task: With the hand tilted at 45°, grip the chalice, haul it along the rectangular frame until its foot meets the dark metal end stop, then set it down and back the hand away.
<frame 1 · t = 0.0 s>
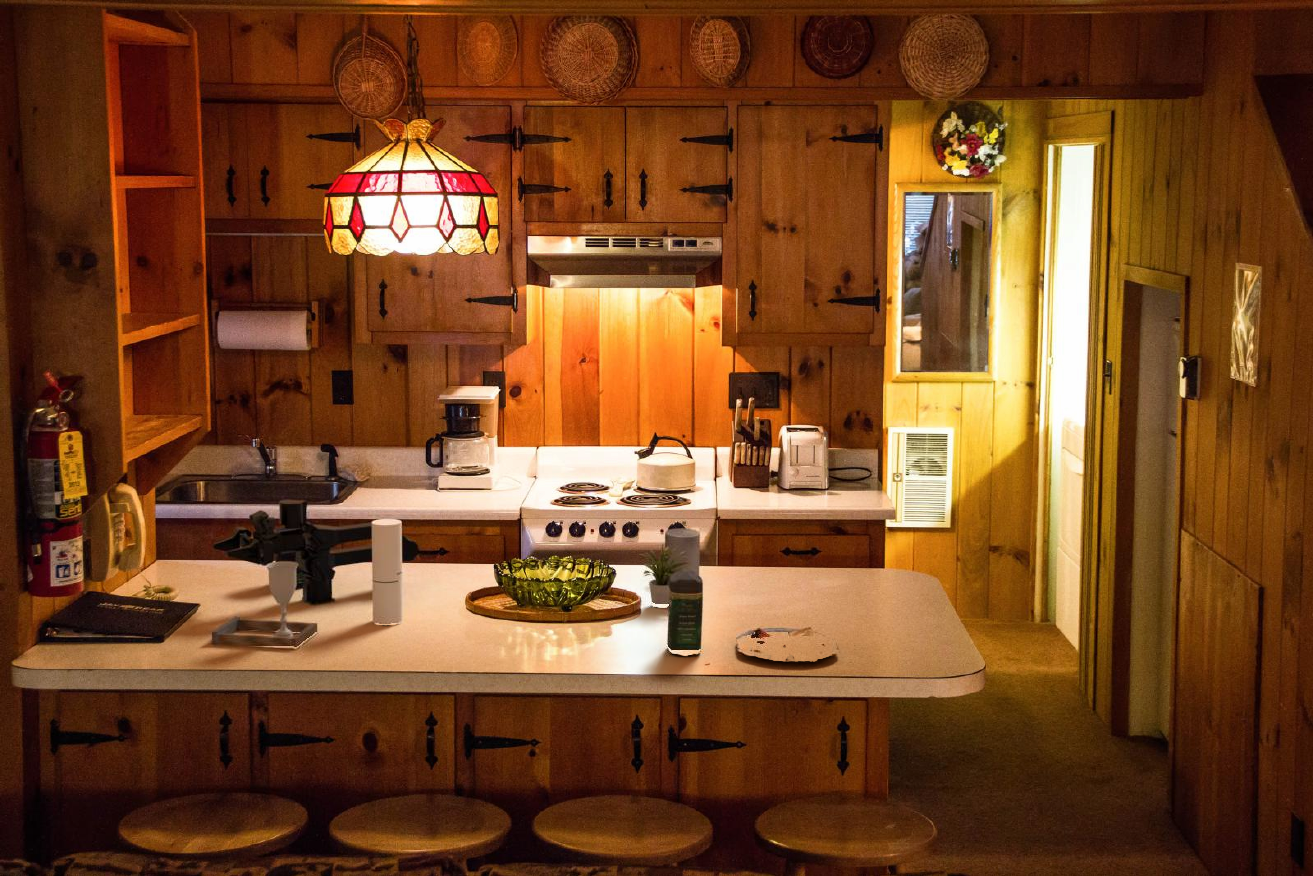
hand: (220, 550, 357), 17 cm above the countertop, tool horizontal, fingers open, 9 cm apart
cylindrical container: (387, 622, 357), on the countertop
food plate: (786, 653, 340), on the countertop
storage jar: (293, 585, 390), on the countertop
pillar candle: (681, 581, 402), on the countertop
house plant: (660, 607, 375), on the countertop
chalice: (284, 640, 341), resting in rectangular frame
rectangular frame: (265, 638, 342), on the countertop
coffee jar: (684, 652, 338), on the countertop
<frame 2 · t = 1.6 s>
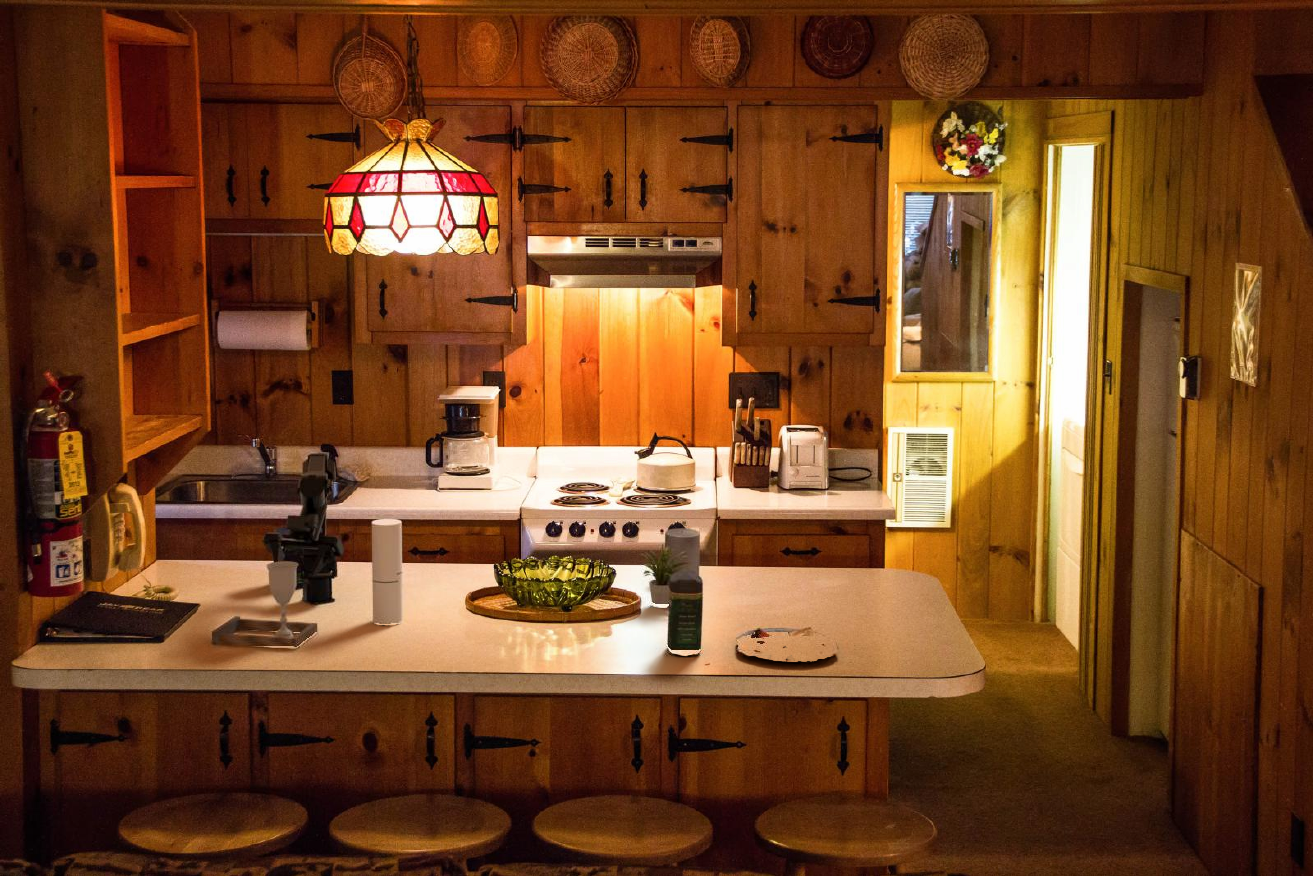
hand: (294, 574, 346), 14 cm above the countertop, tool tilted 45°, fingers open, 9 cm apart
nothing on the countertop moved.
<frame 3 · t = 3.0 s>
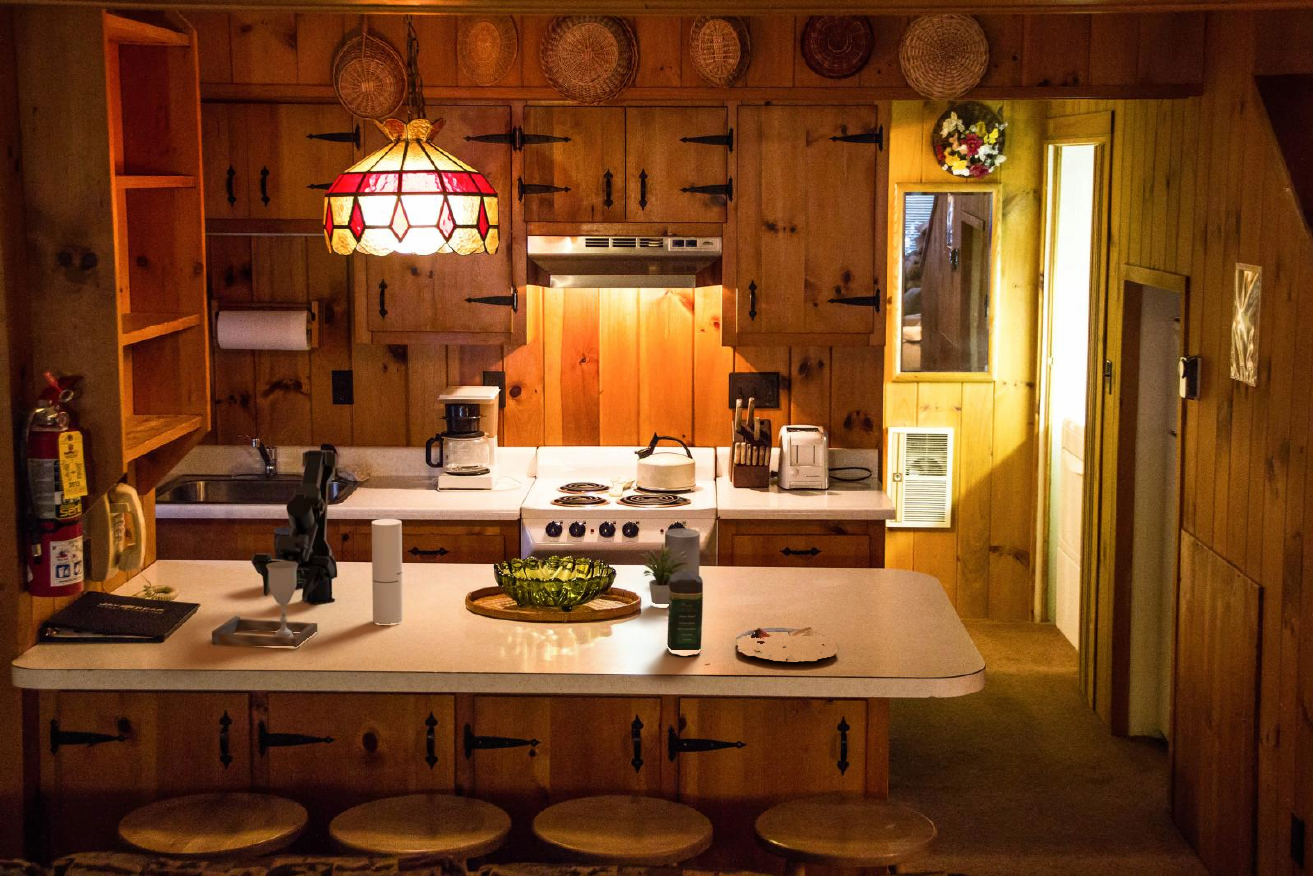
hand: (284, 596, 340), 10 cm above the countertop, tool tilted 45°, fingers open, 9 cm apart
nothing on the countertop moved.
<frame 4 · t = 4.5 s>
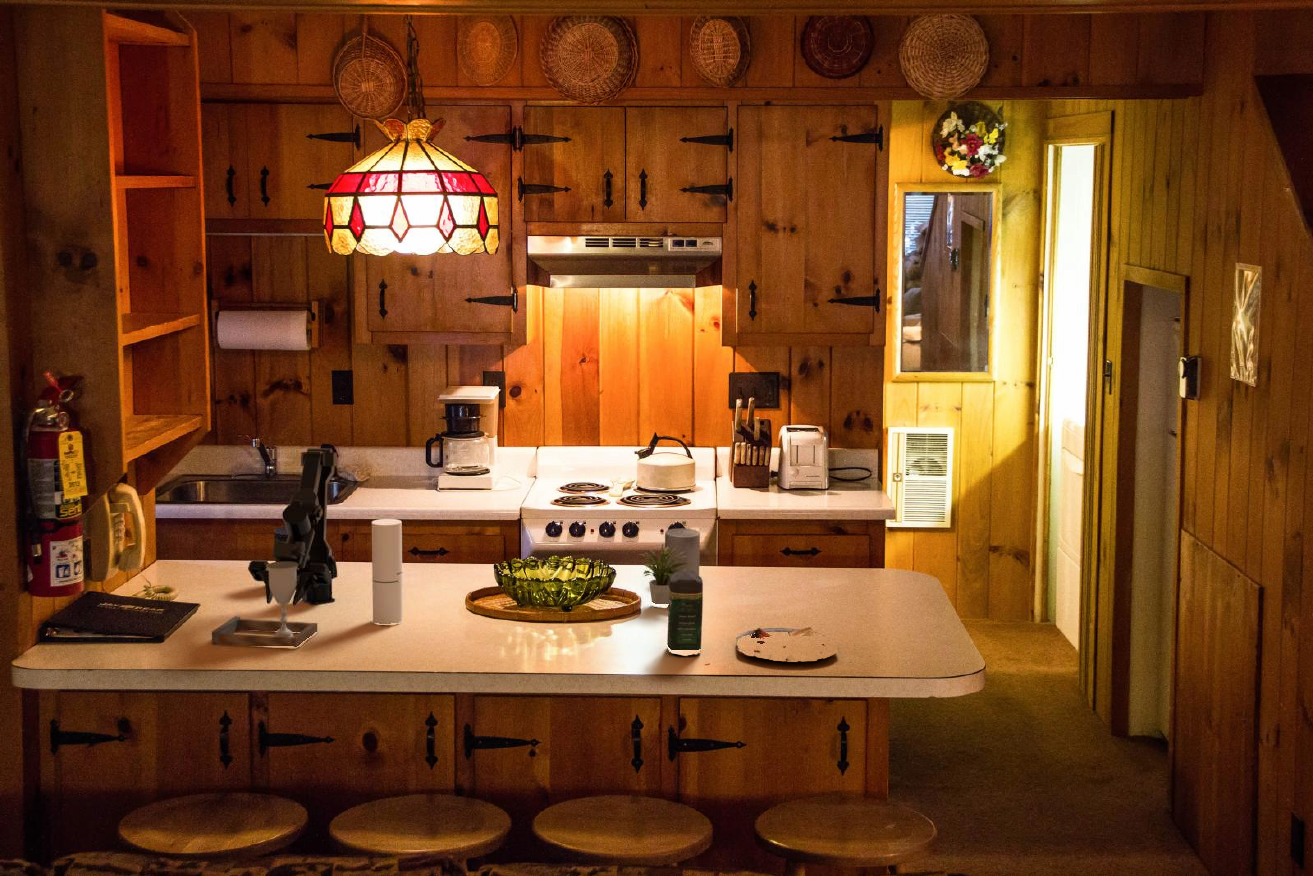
hand: (280, 603, 338), 9 cm above the countertop, tool tilted 45°, fingers closed on chalice, 6 cm apart
chalice: (283, 640, 341), resting in rectangular frame, touching gripper
everything else where it was.
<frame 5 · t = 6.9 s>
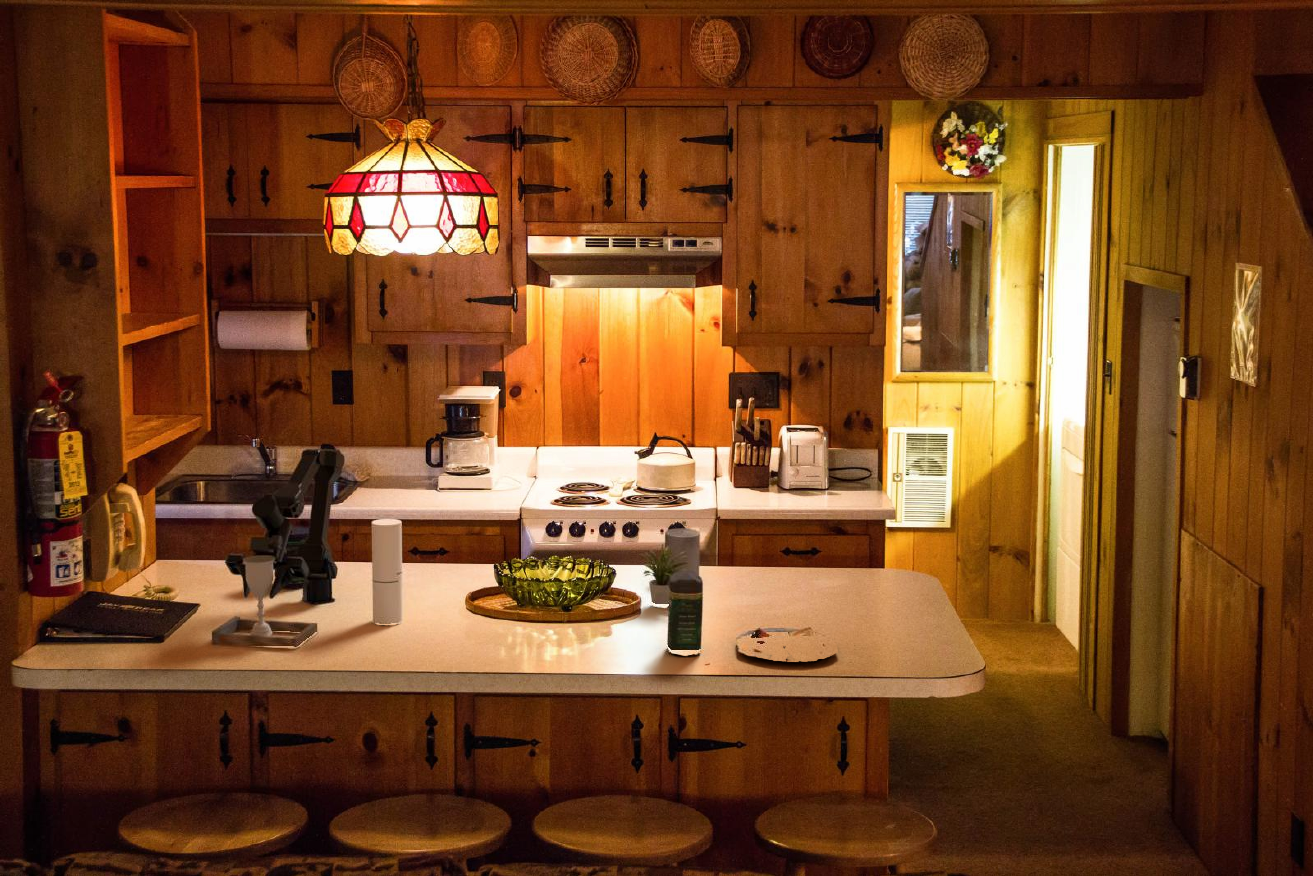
hand: (257, 597, 339), 10 cm above the countertop, tool tilted 45°, fingers closed on chalice, 6 cm apart
chalice: (261, 634, 342), point 1 cm above the countertop, touching gripper
everything else where it was.
when the fingers open (10 cm above the countertop, at t = 9.5 s): chalice stays where it is, resting in rectangular frame.
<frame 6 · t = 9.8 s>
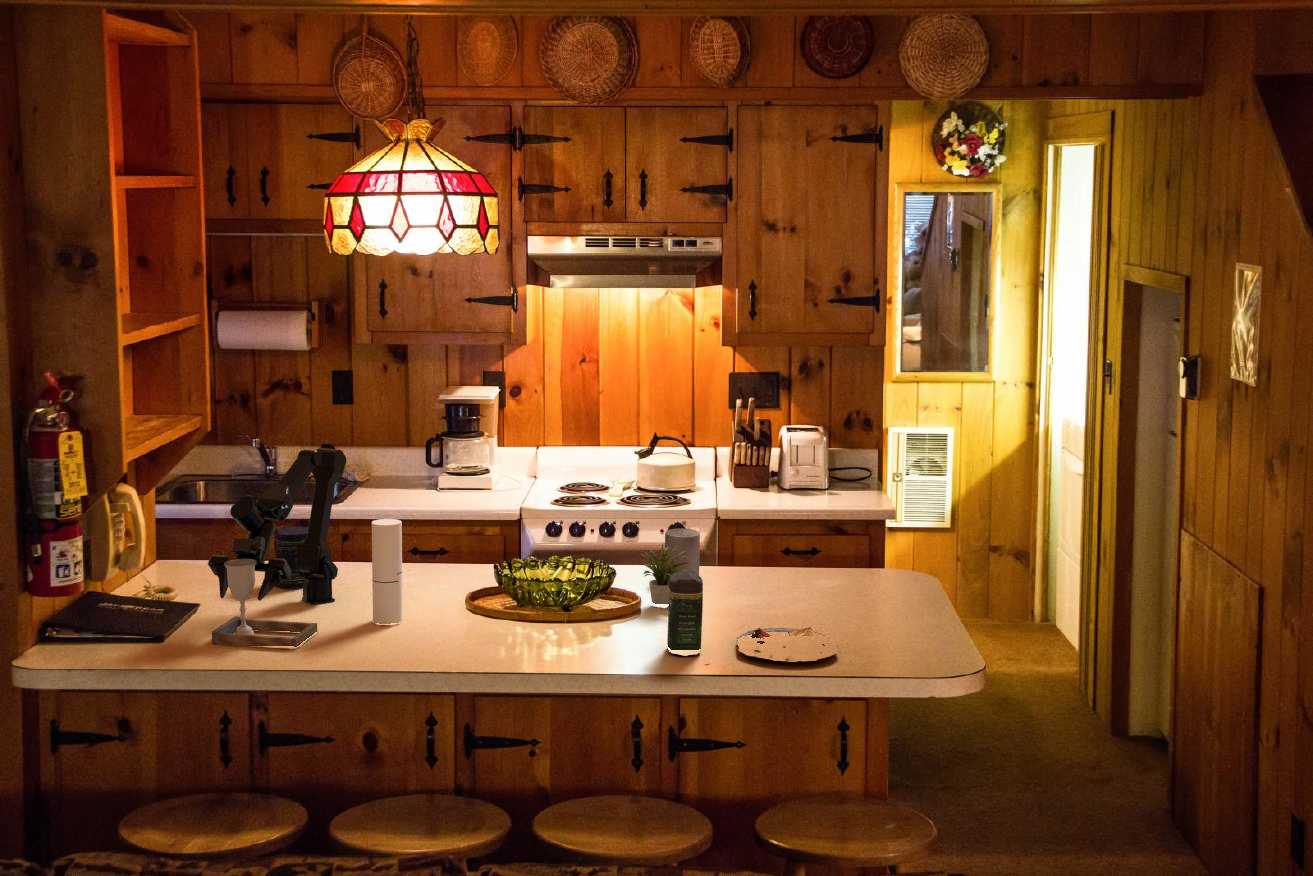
hand: (240, 598, 339), 10 cm above the countertop, tool tilted 45°, fingers open, 9 cm apart
chalice: (244, 637, 343), resting in rectangular frame, touching gripper
everything else where it was.
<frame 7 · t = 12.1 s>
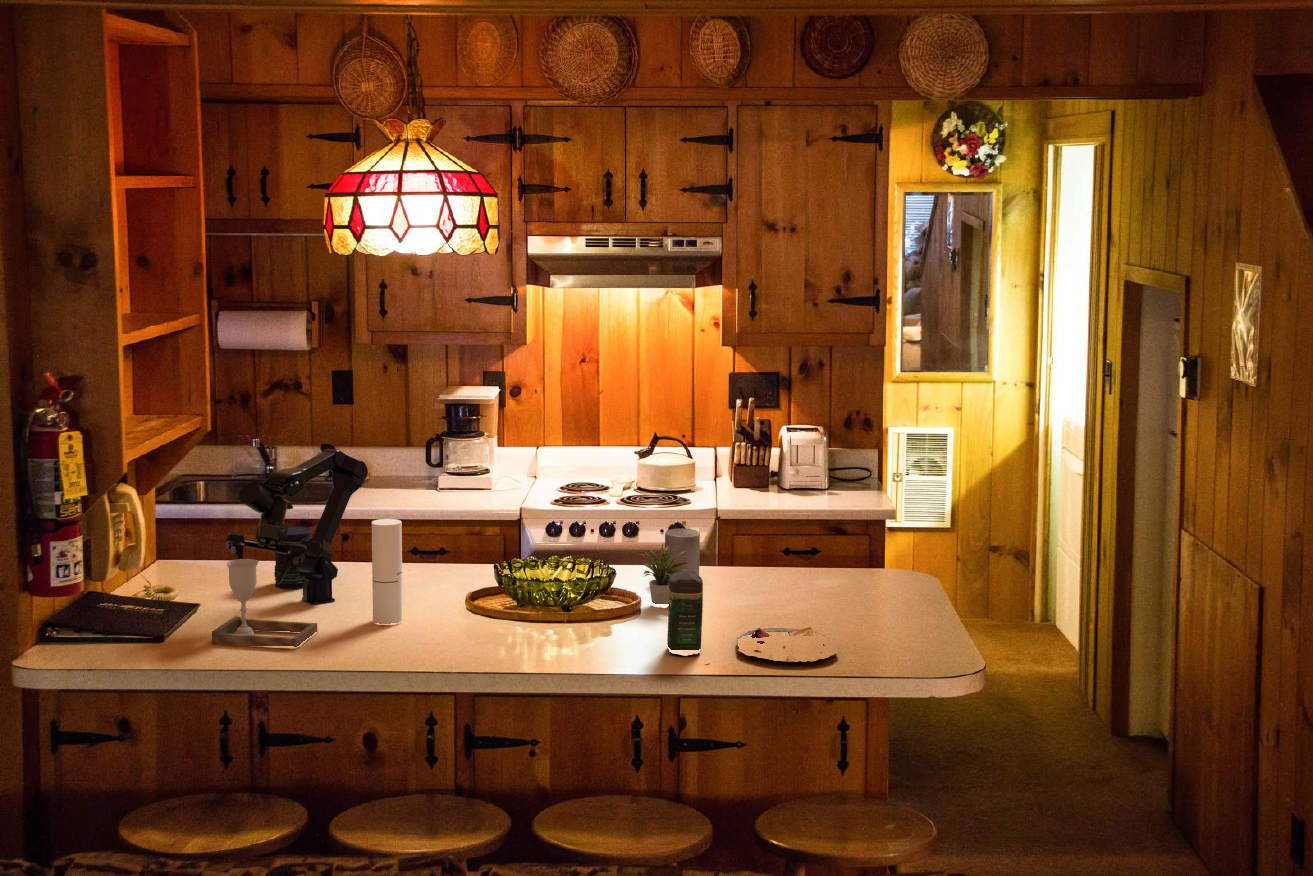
hand: (259, 580, 349), 11 cm above the countertop, tool tilted 35°, fingers open, 9 cm apart
chalice: (244, 638, 343), resting in rectangular frame
everything else where it was.
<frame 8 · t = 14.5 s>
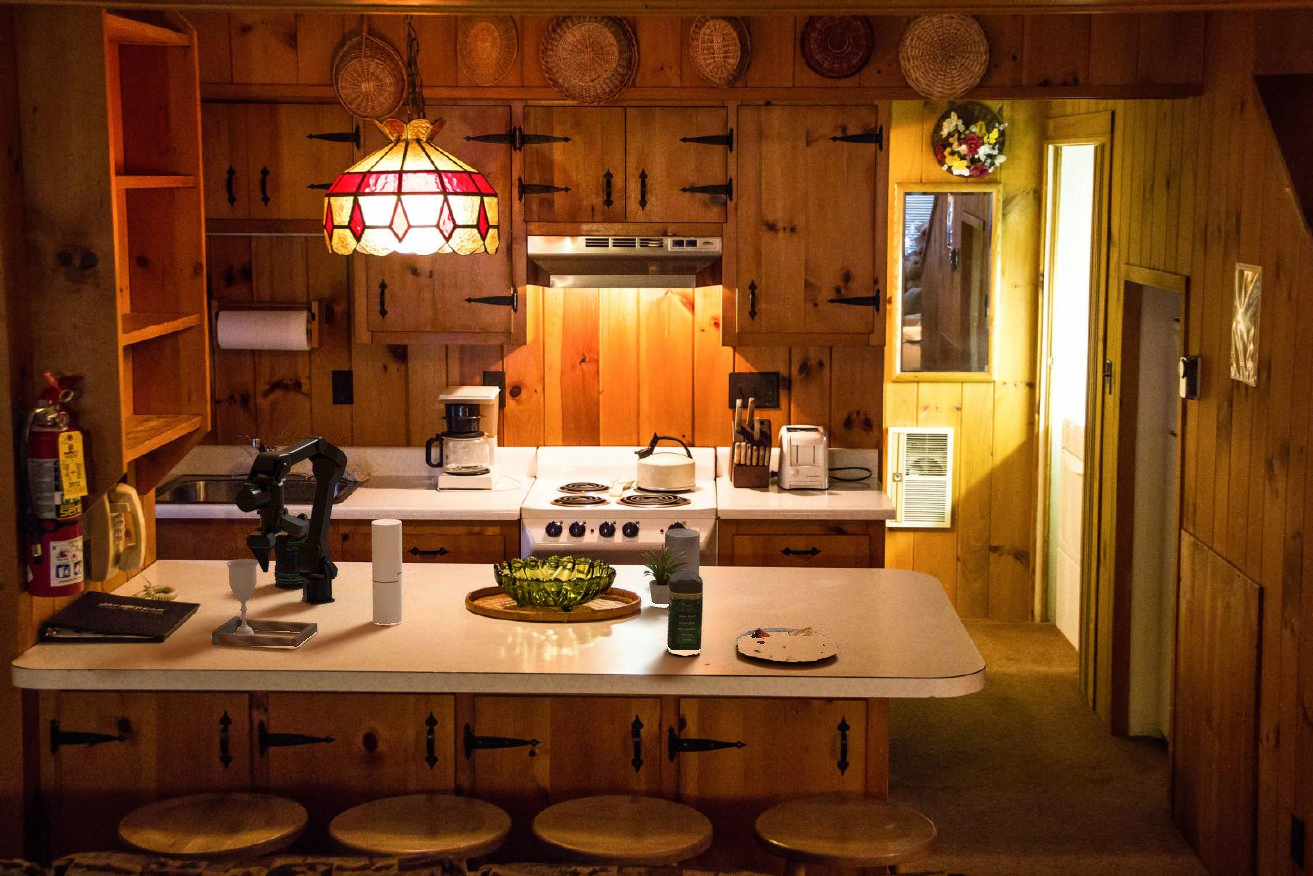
hand: (273, 567, 355), 13 cm above the countertop, tool pointing down, fingers open, 9 cm apart
nothing on the countertop moved.
at the end: chalice 0.2 cm from the target spot on the rectangular frame, point 0.0 cm above the rectangular frame's base; chalice tilted 0°; the gripper is holding nothing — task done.
